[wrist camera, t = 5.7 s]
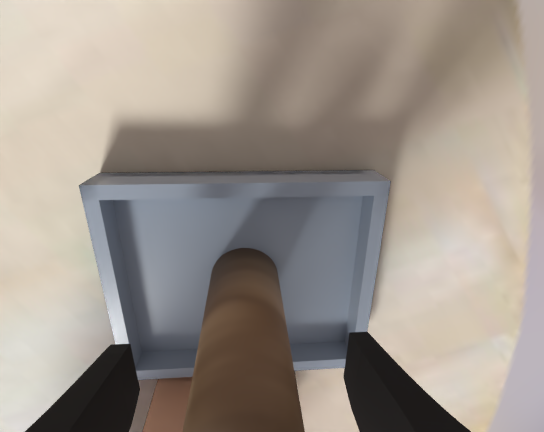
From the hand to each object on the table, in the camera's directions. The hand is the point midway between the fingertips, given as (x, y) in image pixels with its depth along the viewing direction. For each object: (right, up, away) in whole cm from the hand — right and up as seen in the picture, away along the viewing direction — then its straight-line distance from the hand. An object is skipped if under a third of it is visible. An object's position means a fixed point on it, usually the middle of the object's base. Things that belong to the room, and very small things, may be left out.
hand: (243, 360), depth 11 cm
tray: (0, +2, +5) cm, 6 cm away
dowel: (0, +2, +5) cm, 5 cm away
